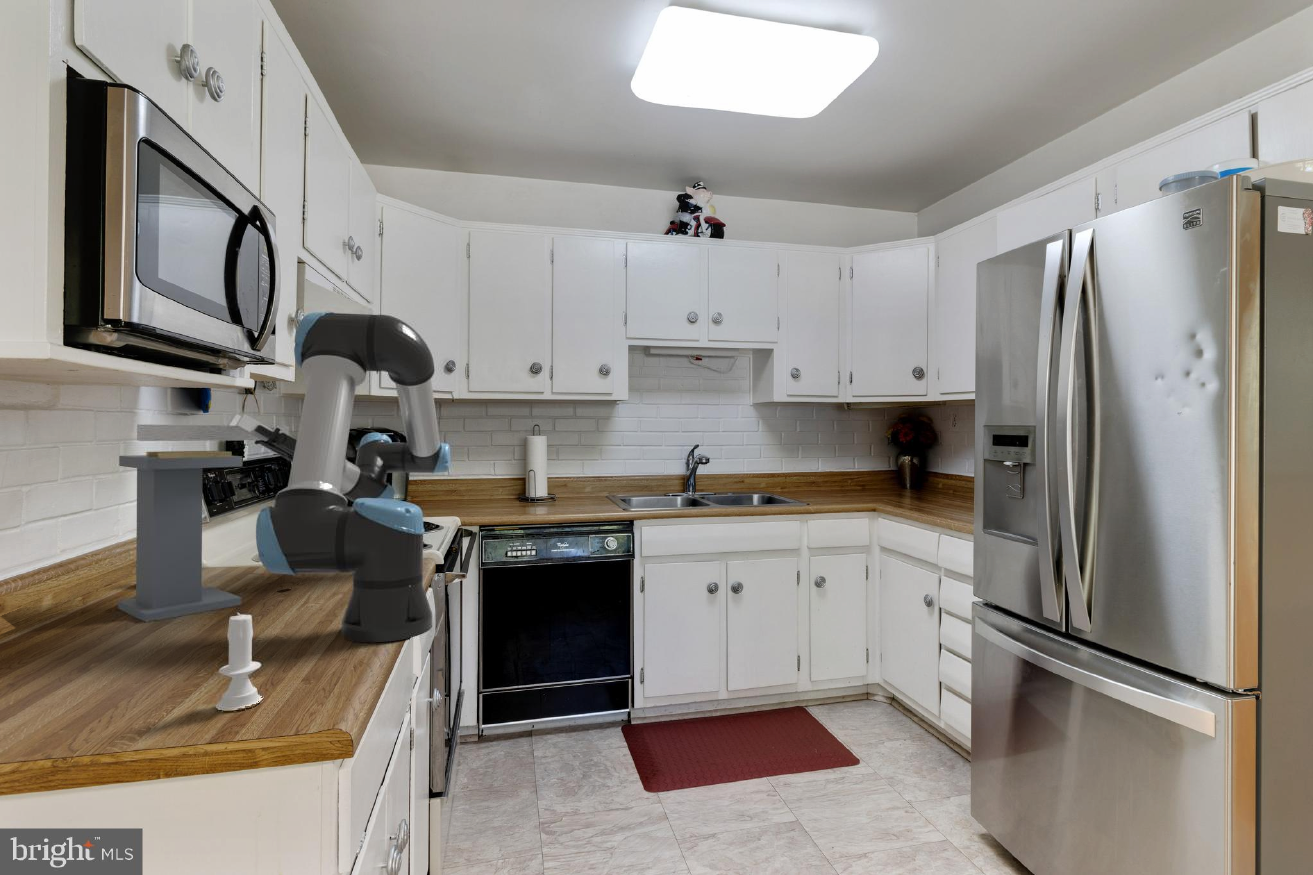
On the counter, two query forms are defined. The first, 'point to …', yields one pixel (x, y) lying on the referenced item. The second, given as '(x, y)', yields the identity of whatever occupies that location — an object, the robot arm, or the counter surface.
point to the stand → (172, 538)
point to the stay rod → (197, 432)
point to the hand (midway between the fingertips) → (236, 419)
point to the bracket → (188, 454)
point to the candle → (239, 665)
